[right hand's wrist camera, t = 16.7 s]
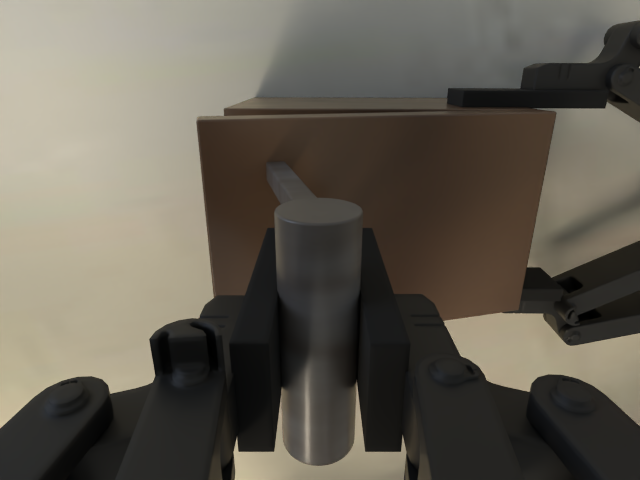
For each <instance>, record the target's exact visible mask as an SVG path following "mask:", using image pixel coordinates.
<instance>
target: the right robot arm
mask: <svg viewBox="0 0 640 480" xmlns="http://www.w3.org/2000/svg"><path fill="white" fill-rule="evenodd" d="M149 340H150V346H151V352H152V358H153V364H154V370H155V378H154V381H153V383H151V384H148V385H146V386H142V387H139V388H135V389H131V390H126V391H122V392H117V393H112V394H110V392H109V388H108V385H107V384H106V383H105V382H104V381H103V380H102V379H99V378H95V377H92V376H91V377H76V378H71V379H67V380H64V381H61V382H59V383H57V384H54V385H52V386H50V387H48V388H46V389H45V390H43V391H42V392H41V393H39V394H38V395H37V396H35V397H34V398H33V399H32V400H31V401H30V402H29V403H27V404H26V405H25V406H24V407H23V408H22V409H21V410H20V411H19V412H18V413H17V414H16V415H15V416H13V417H12V418H11V419H10V420H9V421H8V422H7V423H6V424H5V425H4V426H3V427H2V428H1V429H0V480H234V479H235V464H234V454H233V451H234V447H235V442H236V438H237V439H238V450H239V452H274V448H275V440H276V432H277V423H278V415H279V407H280V398H281V390H282V377H281V352H280V326H279V300H278V291H277V273H276V247H275V228H267V231H266V234H265V237H264V240H263V243H262V246H261V249H260V252H259V255H258V258H257V261H256V264H255V267H254V270H253V273H252V276H251V279H250V282H249V285H248V288H247V291H246V294H245V295H217V296H216V297H215V298H213V299H212V300H211V301H210V302H208V303H207V304H206V305H205V306H204V308H203V310H202V312H201V314H200V318H199V319H193V318H192V319H185V320H179V321H176V322H173V323H170V324H167V325H165V326H164V327H162V328H160V329H159V330H157V331H156V332H155V333H154V334H153V335H152V337H151V338H150V339H149ZM357 385H358V394H359V402H360V411H361V419H362V427H363V436H364V444H365V452H401V445H402V434H403V438H404V442H405V447H406V451H407V454H406V464H405V475H404V480H640V426H639V425H638V424H636V423H635V422H634V421H633V420H632V419H631V418H630V417H629V416H628V415H627V414H626V413H625V412H623V411H622V410H621V409H620V408H619V407H618V406H617V405H616V404H615V403H614V402H613V401H611V400H610V399H609V398H608V397H607V396H606V395H605V394H603V393H602V392H601V391H599V390H598V389H596V388H595V387H594V386H592V385H590V384H588V383H585V382H583V381H581V380H579V379H576V378H573V377H569V376H564V375H545V376H541V377H538V378H537V379H536V380H535V381H534V382H533V383H532V385H531V389H530V392H527V391H522V390H517V389H513V388H508V387H504V386H500V385H497V384H493V383H491V382H489V381H487V380H486V378H485V375H484V374H483V372H482V371H481V370H480V368H479V367H478V366H477V365H475V364H474V363H473V362H471V361H470V360H468V359H466V358H463V357H461V356H460V354H459V352H458V350H457V348H456V346H455V344H454V342H453V340H452V338H451V336H450V334H449V332H448V330H447V328H446V326H445V325H444V322H443V320H442V318H441V317H440V314H439V312H438V310H437V308H436V306H435V304H434V303H433V302H432V301H431V300H429V299H428V298H427V297H425V296H424V295H423V294H394V292H393V289H392V286H391V283H390V280H389V277H388V274H387V271H386V268H385V265H384V262H383V259H382V256H381V253H380V250H379V247H378V244H377V241H376V238H375V235H374V232H373V229H372V228H363V231H362V257H361V282H360V307H359V332H358V358H357Z"/></svg>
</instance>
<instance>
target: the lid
mask: <svg viewBox="0 0 640 480" xmlns="http://www.w3.org/2000/svg"><path fill="white" fill-rule="evenodd" d="M555 118H556V112H554V111H545V110H536V109H529V110H482V111H435V112H388V113H341V114H294V115H247V116H200V117H197V132H198V142H199V152H200V162H201V172H202V182H203V192H204V202H205V212H206V223H207V233H208V243H209V253H210V263H211V273H212V283H213V293H214V298H215V297H216V296H217V295H245V294H246V291H247V288H248V285H249V282H250V279H251V276H252V273H253V270H254V267H255V264H256V261H257V258H258V255H259V252H260V249H261V246H262V243H263V240H264V237H265V234H266V231H267V228H275V247H276V273H277V291H278V300H279V326H280V352H281V377H282V390H281V402H282V428H283V442H284V445H285V447H286V449H287V451H288V452H289V453H290V454H291V456H293V457H294V458H295V459H297V460H298V461H300V462H302V463H305V464H309V465H316V466H321V465H328V464H332V463H335V462H337V461H339V460H341V459H342V458H343V457H345V456H346V455H347V454H348V452H349V451H350V450H351V448H352V446H353V443H354V434H355V408H356V383H357V358H358V332H359V307H360V282H361V257H362V231H363V228H372V229H373V232H374V235H375V238H376V241H377V244H378V247H379V250H380V253H381V256H382V259H383V262H384V265H385V268H386V271H387V274H388V277H389V280H390V283H391V286H392V289H393V292H394V294H423V295H424V296H425V297H427V298H428V299H429V300H431V301H432V302H433V303H434V304H435V306H436V308H437V310H438V312H439V314H440V317H441V318H442V320H443V321H444V320H451V319H458V318H465V317H472V316H479V315H486V314H493V313H500V312H507V311H514V310H518V309H519V305H520V299H521V294H522V289H523V284H524V279H525V273H526V268H527V263H528V258H529V253H530V247H531V242H532V237H533V232H534V227H535V221H536V216H537V211H538V206H539V201H540V196H541V190H542V185H543V180H544V175H545V170H546V164H547V159H548V154H549V149H550V144H551V138H552V133H553V128H554V123H555Z"/></svg>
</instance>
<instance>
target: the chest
mask: <svg viewBox="0 0 640 480" xmlns="http://www.w3.org/2000/svg"><path fill="white" fill-rule="evenodd" d="M529 109H534V108H528V107H459V106H455V105H451V104H448V103H447V98H252V99H249V100H247V101H244V102H241V103H238V104H235V105H233V106H230V107H227V108H225V109H224V116H247V115H294V114H341V113H388V112H435V111H482V110H529ZM536 110H537V109H536Z"/></svg>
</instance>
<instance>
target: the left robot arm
mask: <svg viewBox="0 0 640 480" xmlns="http://www.w3.org/2000/svg"><path fill="white" fill-rule="evenodd" d="M604 45H605V46H604V48H603V50H602V52H601V53H600V55H599V56H598V57H597V58H596V59H595V60H593V61H592V62H590V63H543V64H533V65H531V66H528V67H526V68H524V70H523V76H522V82H521V89H490V88H448V97H447V103H448V104H451V105H455V106H459V107H528V108H605V107H606V103H607V102H608V103H610V104H611V105H613V106H615V107H616V108H618V109H619V110H621V111H623V112H624V113H626V114H627V115H629V116H631V117H632V118H634V119H635V120H637V121H638V122H640V68H639V66H640V21H634V22H628V23H622V24H617V25H614V26H612V27H611V28H610V29H608V31H607V33H606V34H605V37H604ZM502 313H544V315H543V317H544V320H545V321H546V322H547V323H548V324H549V325H550V326H551V327H552V329H553V330H554V331H555V332H556V333H557V334H558V335H559V336H560V338H561V339H562V340H563V341H564V342H565V343H566V344H567V345H570V346H571V345H579V344H584V343H590V342H595V341H600V340H605V339H611V338H616V337H621V336H626V335H631V334H637V333H640V241H638V242H635V243H633V244H631V245H628V246H626V247H624V248H621V249H619V250H616V251H614V252H612V253H609V254H607V255H605V256H602V257H600V258H597V259H595V260H593V261H590V262H588V263H586V264H583V265H581V266H578V267H576V268H574V269H571V270H569V271H567V272H564V273H562V274H560V275H557V276H555V277H552V278H551V277H550V276H549V275H548V274H547V273H545V272H544V271H543V270H542V269H541V268H530V267H527V268H526V273H525V279H524V284H523V289H522V294H521V299H520V305H519V309H518V310H514V311H507V312H502Z"/></svg>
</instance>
